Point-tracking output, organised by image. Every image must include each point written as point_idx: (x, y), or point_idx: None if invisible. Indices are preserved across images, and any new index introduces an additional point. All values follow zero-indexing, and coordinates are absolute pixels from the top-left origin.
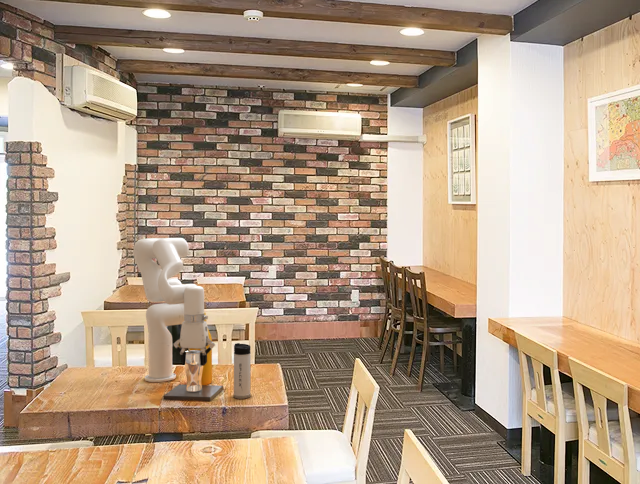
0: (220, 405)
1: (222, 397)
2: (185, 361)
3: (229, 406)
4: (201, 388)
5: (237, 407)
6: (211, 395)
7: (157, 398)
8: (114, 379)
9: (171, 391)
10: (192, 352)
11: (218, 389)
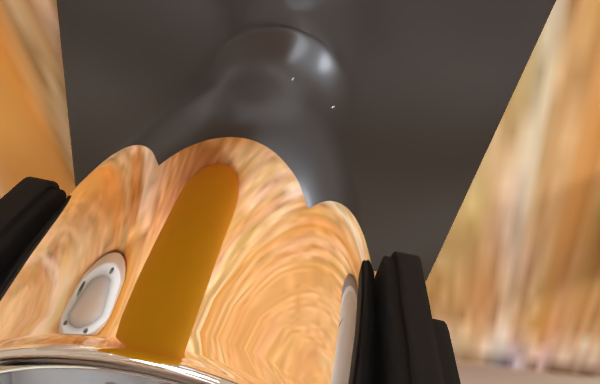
0: (483, 337)
1: (519, 193)
2: (85, 372)
3: (535, 357)
4: (346, 128)
5: (578, 376)
6: (435, 249)
7: (35, 161)
8: None
9: (87, 110)
10: (38, 305)
11: (510, 90)
